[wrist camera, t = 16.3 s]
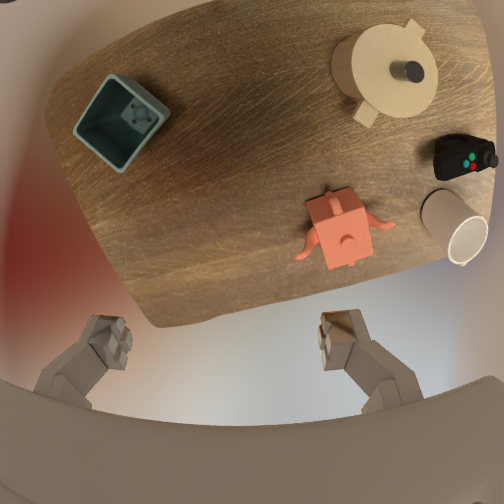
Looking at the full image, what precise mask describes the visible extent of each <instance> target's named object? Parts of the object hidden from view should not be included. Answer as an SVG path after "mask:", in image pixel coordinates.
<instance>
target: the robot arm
mask: <svg viewBox="0 0 504 504" xmlns="http://www.w3.org/2000/svg"><path fill="white" fill-rule="evenodd" d="M125 323H126V322H125V320H124V319H123V317H117V316H104V315H92V316H90V318H89V320H88V322H87V324H86V326H85V328H84V330H83V333H82V335H81V337H80V339H79V341H78V343H77V342H76V343H74V344H73V345H72V346H70V347H69V348H68V349H67V350H66V351H64V352H63V353H62V354H61V355H59V356H58V357H57V358H56V359H55V360H54V361H52V362H51V363H50V364H49V365H48V366H46V367H45V368H44V369H43V370H42V372H41V374H40V376H39V379H38V381H37V384H36V386H35V389H34V391H33V392H31V391H29V390H26V389H24V388H21V387H18V386H16V385H13V384H11V383H8V382H6V381H3V380H1V379H0V504H504V383H503V382H501V381H500V380H499V379H497V378H495V377H494V376H485V377H483V378H480V379H478V380H476V381H473V382H471V383H468V384H466V385H463V386H461V387H458V388H455V389H452V390H450V391H447V392H444V393H441V394H438V395H435V396H432V397H429V398H425V399H424V398H423V395H422V392H421V390H420V387H419V384H418V381H417V378H416V375H415V373H414V372H413V371H412V370H411V369H410V368H408V367H407V366H406V365H405V364H403V363H402V362H401V361H400V360H398V359H397V358H396V357H395V356H394V355H392V354H391V353H390V352H389V351H387V350H386V349H385V348H383V347H382V346H381V345H380V344H379V343H377V342H376V341H375V340H371V339H370V336H369V333H368V330H367V328H366V325H365V322H364V319H363V317H362V314H361V311H360V310H359V309H354V310H344V311H333V312H323V313H322V315H321V323H322V324H321V325H320V326H319V331H318V341H319V347H320V349H321V350H322V351H323V353H322V362H323V367H324V371H328V370H338V369H344V370H345V371H346V372H347V373H348V375H349V376H350V377H351V378H352V379H353V380H354V381H355V382H356V383H357V384H358V385H359V386H360V387H361V389H362V390H363V391H364V392H365V393H366V394H367V395H368V396H369V397H370V398H369V399H368V401H367V403H366V404H365V405H364V407H363V408H362V409H361V411H362V414H360V415H355V416H350V417H343V418H337V419H330V420H322V421H314V422H305V423H294V424H283V425H260V426H216V425H215V426H213V425H195V424H182V423H171V422H162V421H154V420H146V419H140V418H133V417H127V416H122V415H116V414H111V413H106V412H102V411H97V410H93V409H91V407H92V404H91V403H90V402H89V401H88V400H87V399H86V398H85V396H86V395H87V393H88V392H89V391H90V390H91V389H92V388H93V387H94V385H95V384H96V383H97V382H98V381H99V380H100V379H101V378H102V376H103V375H104V374H105V373H106V372H107V371H108V369H116V370H125V367H126V363H127V360H128V357H127V354H126V353H128V351H130V350H131V347H132V334H131V332H130V330H129V329H128V328H127V327H126V326H125Z"/></svg>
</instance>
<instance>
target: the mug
mask: <svg viewBox="0 0 504 504" xmlns="http://www.w3.org/2000/svg"><path fill="white" fill-rule="evenodd" d="M421 220H422V222H423V224H424V225H425V227H426V228H427V229H428V230H429V232H430V233H431V234H432V235H433V237H434V238H435V239H436V240H437V242H438V243H439V244H440V245H441V247H442V248H443V250H444V251H445V253H446V254H447V256H448V258H449V259H450V260H451V261H452V262H453V263H456V264H459V265H460V266H464V265H466V264H467V262H468V261H470V260H471V259H472V258H474V257H475V256H476V255H477V254H478V253H479V251H480V250H481V249H482V247H483V245H484V244H485V241H486V239H487V234H488V224H487V221H486V220H485V219H484V217H482V216H481V215H479V214H478V213H477V212H475V211H474V210H472V209H471V208H470V207H469V206H468V205H466V204H465V203H464V202H463V201H461V200H460V199H459V198H458V197H456V196H455V195H454V194H453V193H451V192H450V191H448V190H446V189H438V190H435V191H433V192H432V193H431V194H429V195H428V196H427V198H426V199H425V201H424V203H423V205H422V208H421Z"/></svg>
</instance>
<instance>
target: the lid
mask: <svg viewBox="0 0 504 504" xmlns="http://www.w3.org/2000/svg"><path fill="white" fill-rule="evenodd" d="M350 70H351V75H352V79H353V81H354V84H355V86H356V88H357V90H358V92H359V93H360V95H361V96H362V97H363V98H364V100H365V101H366V102H367V103H368V104H369V105H370V106H372V107H373V108H374V109H376V110H377V111H379V112H381V113H383V114H385V115H388V116H391V117H395V118H409V117H413V116H416V115H418V114H420V113H421V112H423V111H424V110H425V109H426V108H427V107H428V106H429V105H430V104H431V102H432V101H433V99H434V97H435V94H436V91H437V86H438V72H437V66H436V63H435V60H434V58H433V55H432V53H431V52H430V50H429V48H428V47H427V45H426V44H425V43H424V42H423V41H422V40H421V39H420V38H419V37H418V36H417V35H416V34H414V33H413V32H411V31H410V30H408V29H406V28H404V27H401V26H398V25H393V24H381V25H376V26H373V27H370V28H368V29H367V30H365V31H364V32H362V33H361V34H360V35H359V36H358V38H357V39H356V41H355V43H354V45H353V47H352V50H351V55H350Z"/></svg>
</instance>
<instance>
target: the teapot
mask: <svg viewBox="0 0 504 504" xmlns="http://www.w3.org/2000/svg"><path fill="white" fill-rule="evenodd" d="M305 203H306V206H307V208H308V211H309V214H310V217H311V220H312V223H313V227H312V228H311V229H310V230H309V231H308V232H307V235H306V239H305V246H304V249H303V250H302V252H301V253H299V254H298V255H297V256H296V257H295V259H296V260H301V259H304V258H306V257H307V256H308V255H309V254H310V253H311V251H312V249H313V247H314V246H315V245H316V244H318V243H320V246H321V249H322V252H323V255H324V258H325V261H326V263H327V266H328V269H329V270H331V269H333V268H336V267H339V266H342V265H345V264H347V266H349V267H350V266H353V265H355V261H357V260H359V259H362V258H365V257H368V256H370V255H373V248H372V242H371V237H370V232H369V227H368V226H373V227H376V228H379V229H389V228H392V227H393V226H395V223H394V222H384V221H381V220H380V219H378V218H377V217H376V216H375V215H373V214H372V213H370V212H368V211H365V207H364V205H363V204H362V202H361V201H360V200H359V198H358V197H357V196H356V194H355V193H354V192H353V191H352V189H351V188H350V187H348V188H345V189H342V190H339V191H336V192H333V193H332V192H331V191H328V192H326V193H325V196H322V197H319V198H316V199H313V200H310V201H308V202H305Z"/></svg>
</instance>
